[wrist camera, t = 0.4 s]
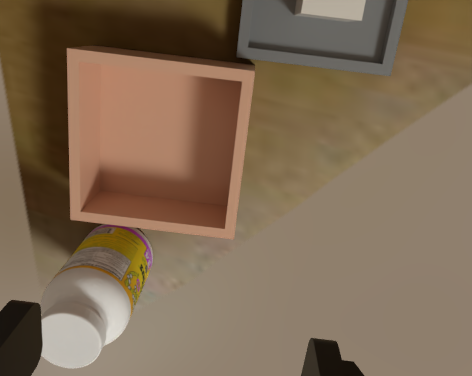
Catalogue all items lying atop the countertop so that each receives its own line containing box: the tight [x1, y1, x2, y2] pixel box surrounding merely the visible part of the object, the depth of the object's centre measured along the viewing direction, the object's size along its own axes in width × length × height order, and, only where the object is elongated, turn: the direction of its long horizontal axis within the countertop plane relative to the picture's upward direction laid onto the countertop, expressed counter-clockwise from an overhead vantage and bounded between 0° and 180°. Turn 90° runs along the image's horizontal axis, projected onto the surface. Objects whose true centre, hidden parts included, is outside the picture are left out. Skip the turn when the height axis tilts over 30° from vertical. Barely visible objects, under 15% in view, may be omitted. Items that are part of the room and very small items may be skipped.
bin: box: [67, 45, 255, 239], centre depth 35 cm, size 13×13×6 cm
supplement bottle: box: [41, 224, 153, 368], centre depth 35 cm, size 7×7×13 cm
